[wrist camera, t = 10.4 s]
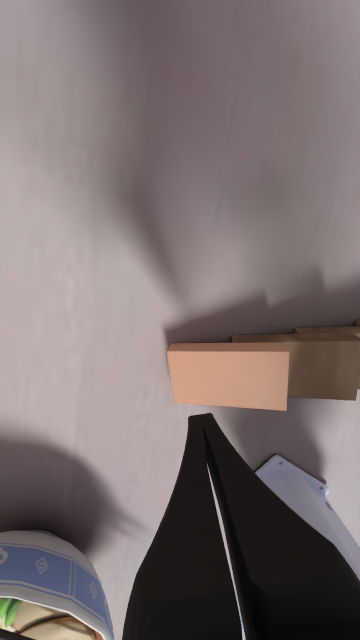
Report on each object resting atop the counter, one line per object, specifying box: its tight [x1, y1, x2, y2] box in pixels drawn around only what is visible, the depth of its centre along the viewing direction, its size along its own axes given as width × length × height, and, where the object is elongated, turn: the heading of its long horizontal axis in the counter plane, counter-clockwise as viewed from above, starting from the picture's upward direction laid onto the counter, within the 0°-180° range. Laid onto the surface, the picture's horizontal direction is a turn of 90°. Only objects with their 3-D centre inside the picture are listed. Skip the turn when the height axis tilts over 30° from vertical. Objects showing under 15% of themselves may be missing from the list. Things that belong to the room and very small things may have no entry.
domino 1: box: [232, 333, 360, 401], centre depth 16 cm, size 2×5×9 cm
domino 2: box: [294, 326, 360, 389], centre depth 16 cm, size 2×5×9 cm
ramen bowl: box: [0, 530, 114, 640], centre depth 20 cm, size 25×23×8 cm
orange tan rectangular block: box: [167, 342, 289, 411], centre depth 16 cm, size 2×5×9 cm
